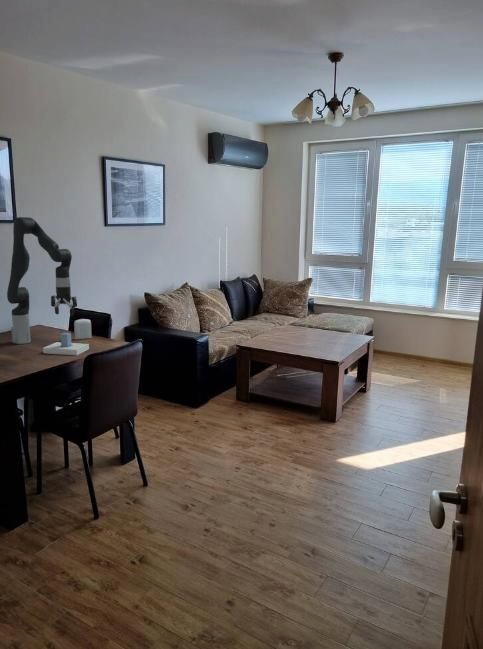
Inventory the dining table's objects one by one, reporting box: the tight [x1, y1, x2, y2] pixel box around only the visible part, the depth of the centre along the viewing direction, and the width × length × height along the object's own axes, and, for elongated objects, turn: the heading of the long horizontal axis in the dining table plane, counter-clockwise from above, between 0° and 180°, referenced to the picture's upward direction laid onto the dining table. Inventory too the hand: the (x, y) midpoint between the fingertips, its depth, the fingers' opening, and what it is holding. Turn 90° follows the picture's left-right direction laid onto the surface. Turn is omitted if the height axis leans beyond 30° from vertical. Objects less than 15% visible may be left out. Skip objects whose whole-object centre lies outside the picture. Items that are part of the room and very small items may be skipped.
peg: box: [60, 332, 72, 347], centre depth 269 cm, size 4×4×9 cm
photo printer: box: [73, 318, 92, 340], centre depth 300 cm, size 10×4×12 cm, turn 123°
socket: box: [42, 341, 90, 356], centre depth 270 cm, size 20×14×3 cm
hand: (64, 314), depth 266 cm, fingers open, 8 cm apart
